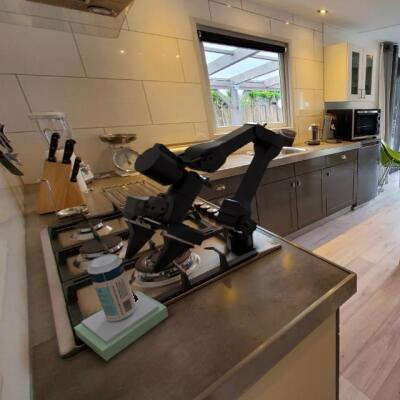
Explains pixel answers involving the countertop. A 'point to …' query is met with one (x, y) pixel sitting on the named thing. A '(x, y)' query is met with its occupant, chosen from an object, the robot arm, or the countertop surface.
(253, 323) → the countertop surface
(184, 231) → the robot arm
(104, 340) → the kitchen scale
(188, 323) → the countertop surface
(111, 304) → the white canister
